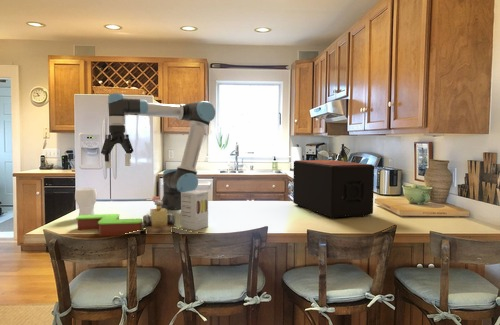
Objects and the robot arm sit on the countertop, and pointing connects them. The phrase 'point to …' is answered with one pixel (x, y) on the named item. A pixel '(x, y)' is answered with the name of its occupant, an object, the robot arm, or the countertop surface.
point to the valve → (158, 217)
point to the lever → (157, 200)
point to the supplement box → (194, 209)
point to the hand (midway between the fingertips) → (118, 167)
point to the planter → (108, 224)
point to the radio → (334, 187)
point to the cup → (86, 200)
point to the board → (158, 229)
